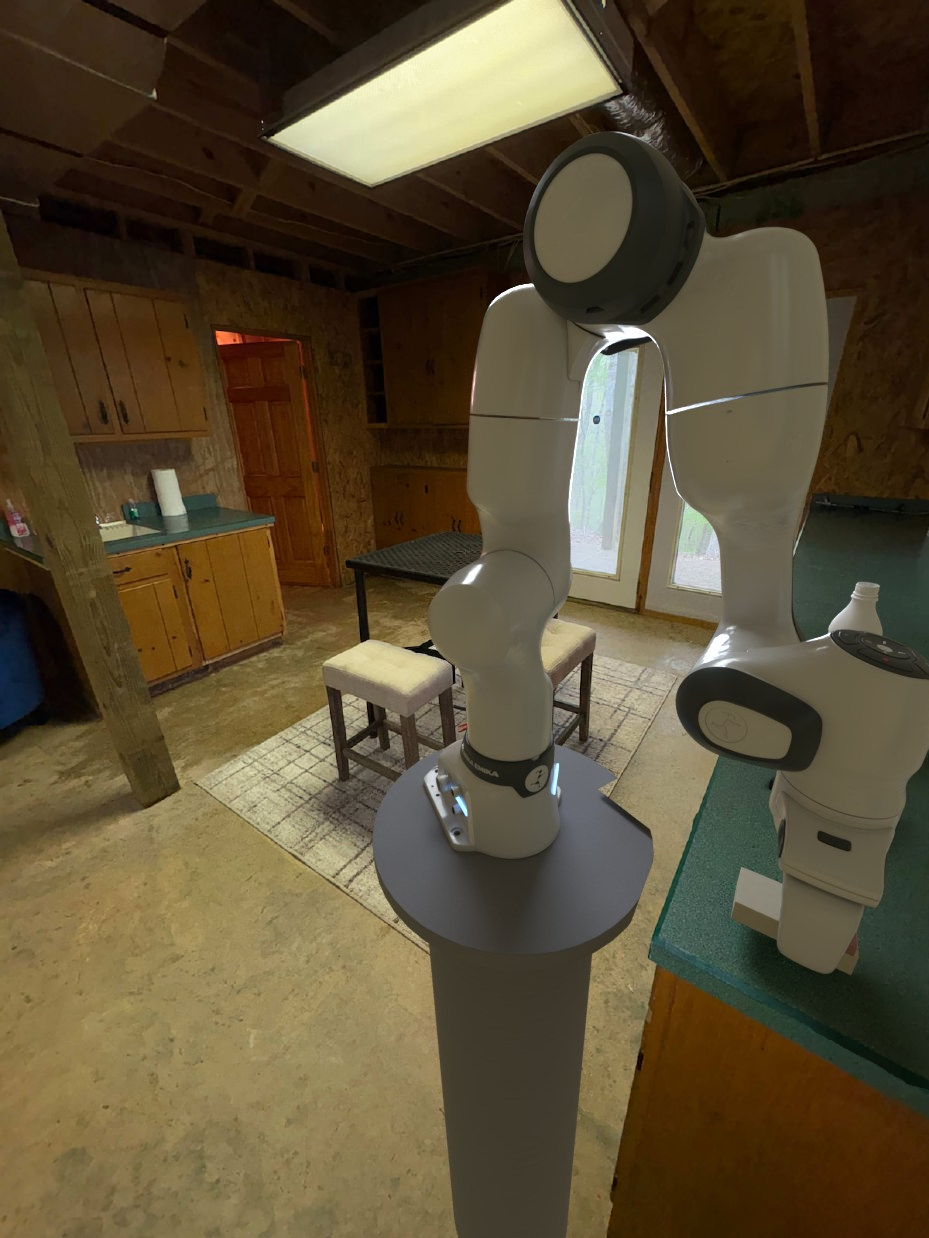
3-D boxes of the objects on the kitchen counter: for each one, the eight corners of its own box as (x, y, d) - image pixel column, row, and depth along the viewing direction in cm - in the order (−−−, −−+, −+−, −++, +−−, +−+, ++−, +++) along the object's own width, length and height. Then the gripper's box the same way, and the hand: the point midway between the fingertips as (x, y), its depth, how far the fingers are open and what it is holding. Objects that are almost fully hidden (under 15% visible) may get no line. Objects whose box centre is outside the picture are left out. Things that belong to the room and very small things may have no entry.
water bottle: (798, 705, 91) (830, 578, 82) (839, 706, 90) (876, 578, 81) (821, 727, 84) (858, 591, 75) (865, 728, 83) (909, 591, 74)
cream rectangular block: (730, 919, 50) (737, 894, 48) (737, 881, 54) (743, 857, 52) (851, 977, 44) (863, 950, 43) (848, 929, 48) (859, 904, 47)
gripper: (793, 736, 53) (765, 832, 58) (781, 870, 37) (744, 984, 42) (865, 757, 49) (829, 856, 55) (886, 913, 34) (832, 1031, 39)
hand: (792, 913), depth 48 cm, fingers closed on cream rectangular block, 5 cm apart
